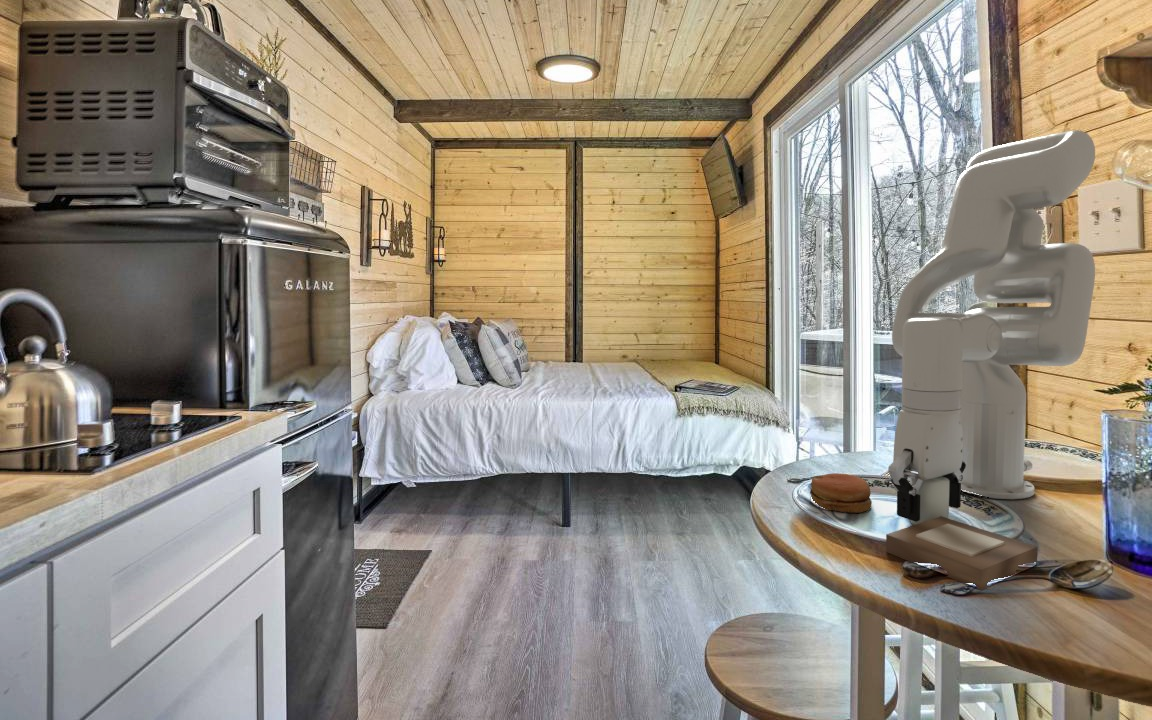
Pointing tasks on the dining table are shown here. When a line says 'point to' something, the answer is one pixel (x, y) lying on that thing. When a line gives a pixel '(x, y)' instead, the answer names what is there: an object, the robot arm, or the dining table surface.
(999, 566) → the walnut base
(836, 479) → the burger
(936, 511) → the ceramic cylinder
